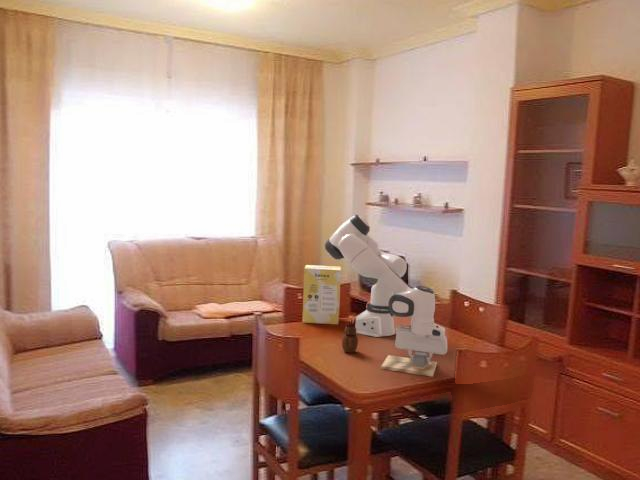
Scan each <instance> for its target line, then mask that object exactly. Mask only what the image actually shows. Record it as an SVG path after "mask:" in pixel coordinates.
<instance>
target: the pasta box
mask: <svg viewBox="0 0 640 480" xmlns="http://www.w3.org/2000/svg"><path fill="white" fill-rule="evenodd" d="M303 271H304V272H303V296H302V297H303V298H302V323H303V324H304V323H306V324H324V325H325V324H326V325H327V324H328V325H339V320H340V319H339V318H340V302H341V301H340V297H341V275H342V273H341V272H342V266H338V265H337V266H334V265H329V266H328V265H313V264H306V265H305V266H304V269H303Z"/></svg>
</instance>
